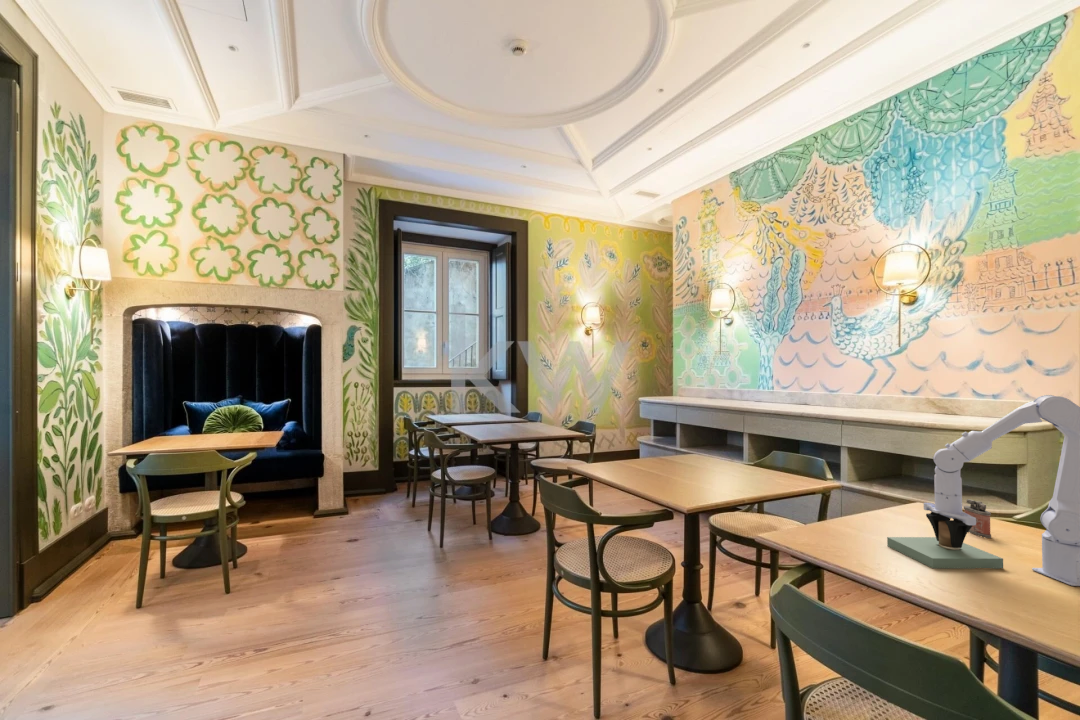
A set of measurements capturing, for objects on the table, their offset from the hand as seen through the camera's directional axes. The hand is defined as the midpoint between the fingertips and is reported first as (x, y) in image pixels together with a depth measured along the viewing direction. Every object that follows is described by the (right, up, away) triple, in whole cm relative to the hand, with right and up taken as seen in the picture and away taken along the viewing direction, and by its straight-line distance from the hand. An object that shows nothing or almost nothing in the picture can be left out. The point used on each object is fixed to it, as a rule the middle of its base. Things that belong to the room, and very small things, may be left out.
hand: (948, 544), depth 131 cm
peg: (0, -3, 0) cm, 3 cm away
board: (-2, -3, 0) cm, 4 cm away
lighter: (+25, -4, +19) cm, 32 cm away
